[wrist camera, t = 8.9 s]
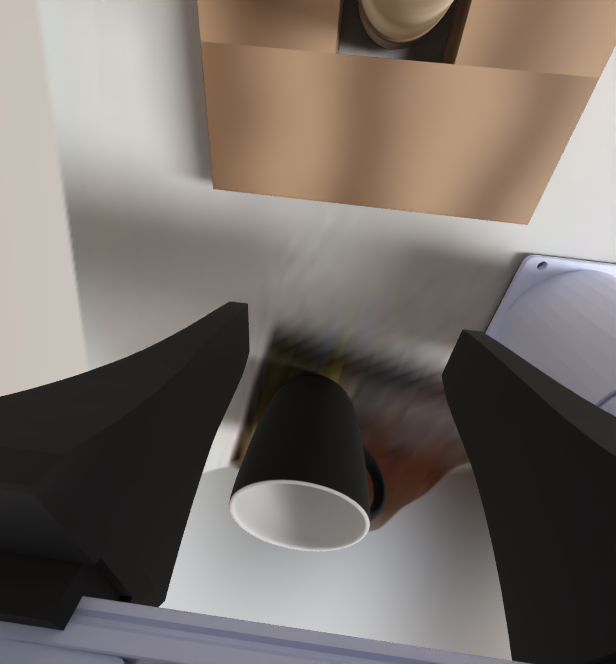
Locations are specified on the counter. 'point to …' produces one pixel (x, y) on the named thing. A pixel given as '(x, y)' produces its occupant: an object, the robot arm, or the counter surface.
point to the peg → (400, 20)
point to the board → (400, 105)
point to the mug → (307, 471)
